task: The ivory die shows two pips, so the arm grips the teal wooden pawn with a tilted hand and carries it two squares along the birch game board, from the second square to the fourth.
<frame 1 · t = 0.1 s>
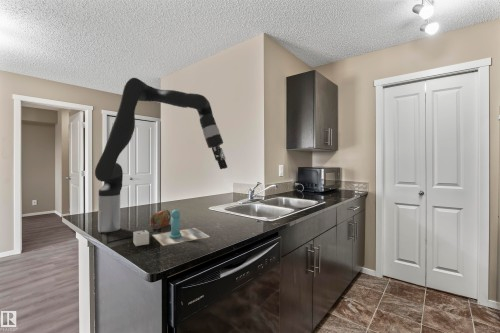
hand: (224, 168, 115), 31 cm above the counter, tool tilted 20°, fingers open, 8 cm apart
mottled brown slab: (160, 227, 125), on the counter
board: (180, 236, 110), on the counter
die: (141, 244, 100), on the counter
pawn: (175, 236, 109), resting on board
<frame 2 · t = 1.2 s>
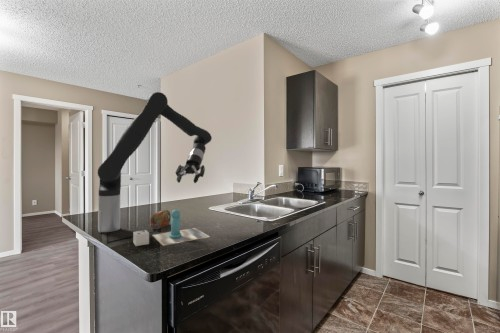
hand: (186, 181, 119), 24 cm above the counter, tool tilted 45°, fingers open, 8 cm apart
nothing on the counter moved.
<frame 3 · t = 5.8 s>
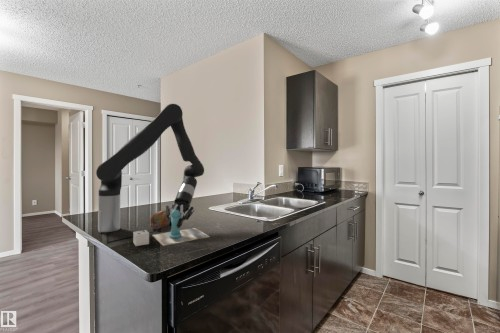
hand: (173, 226, 107), 6 cm above the counter, tool tilted 45°, fingers closed on pawn, 3 cm apart
pawn: (175, 236, 109), resting on board, touching gripper
everything else where it was.
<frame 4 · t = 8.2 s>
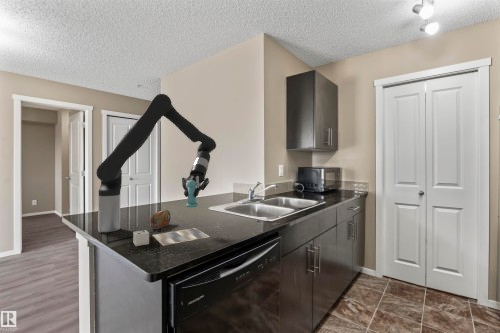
hand: (190, 195, 111), 19 cm above the counter, tool tilted 45°, fingers closed on pawn, 3 cm apart
pawn: (192, 206, 113), point 13 cm above the counter, touching gripper
everything else where it was.
when the fingers open (7 cm above the counter, at t = 10.9 s): pawn drops 1 cm, resting on board.
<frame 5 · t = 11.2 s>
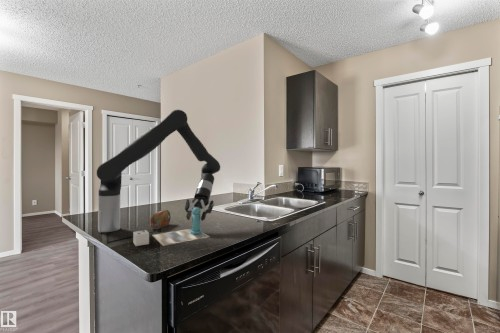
hand: (195, 219, 113), 7 cm above the counter, tool tilted 45°, fingers open, 6 cm apart
pawn: (196, 232, 115), resting on board
everything else where it was.
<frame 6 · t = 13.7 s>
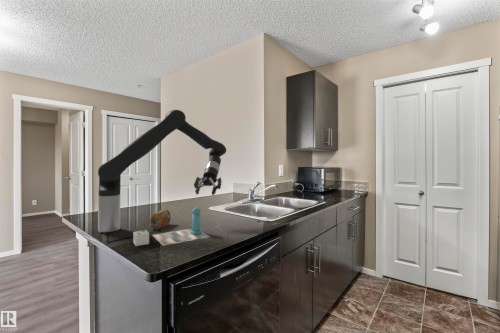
hand: (204, 193, 126), 18 cm above the counter, tool tilted 45°, fingers open, 8 cm apart
nothing on the counter moved.
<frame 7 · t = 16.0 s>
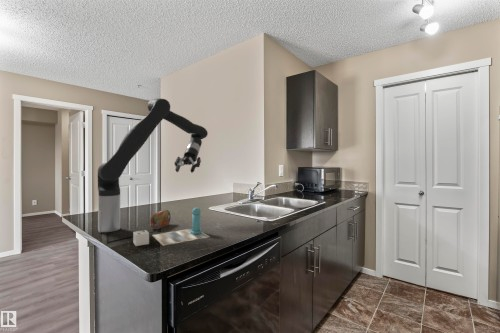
hand: (184, 171, 134), 29 cm above the counter, tool tilted 45°, fingers open, 8 cm apart
nothing on the counter moved.
at the end: pawn 0.1 cm from the target spot on the board, point 0.4 cm above the board's base; pawn tilted 0°; the gripper is holding nothing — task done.
